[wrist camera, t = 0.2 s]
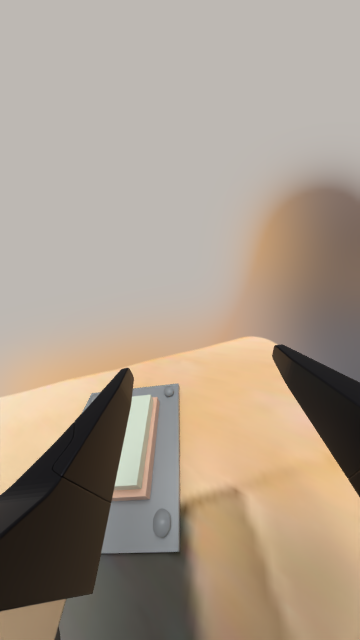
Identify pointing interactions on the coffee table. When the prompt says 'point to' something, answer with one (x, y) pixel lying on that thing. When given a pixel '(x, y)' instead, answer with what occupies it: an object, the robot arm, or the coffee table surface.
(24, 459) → the coffee table surface
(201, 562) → the coffee table surface
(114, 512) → the bolted base plate
